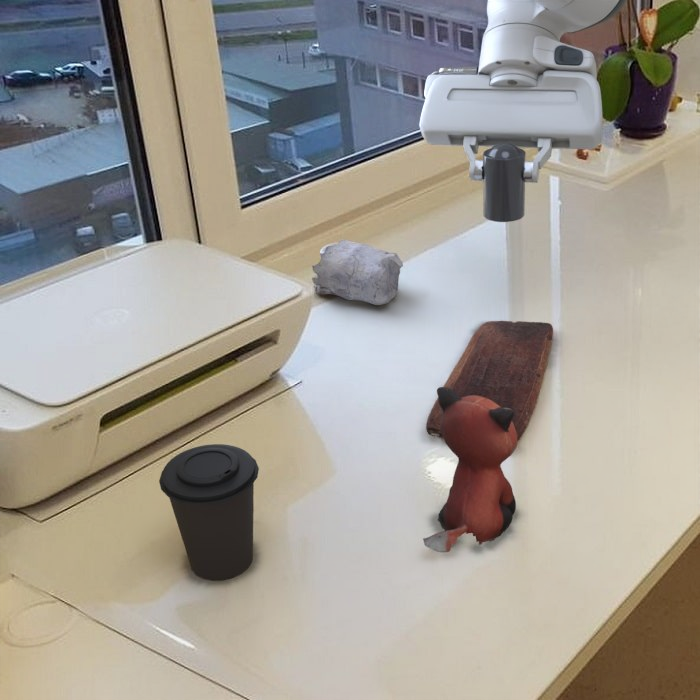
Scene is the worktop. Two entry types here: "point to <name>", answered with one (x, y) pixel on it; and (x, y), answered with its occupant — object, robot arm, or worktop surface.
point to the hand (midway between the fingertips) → (503, 179)
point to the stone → (357, 272)
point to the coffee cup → (213, 507)
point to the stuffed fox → (475, 469)
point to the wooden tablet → (501, 369)
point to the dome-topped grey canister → (503, 183)
